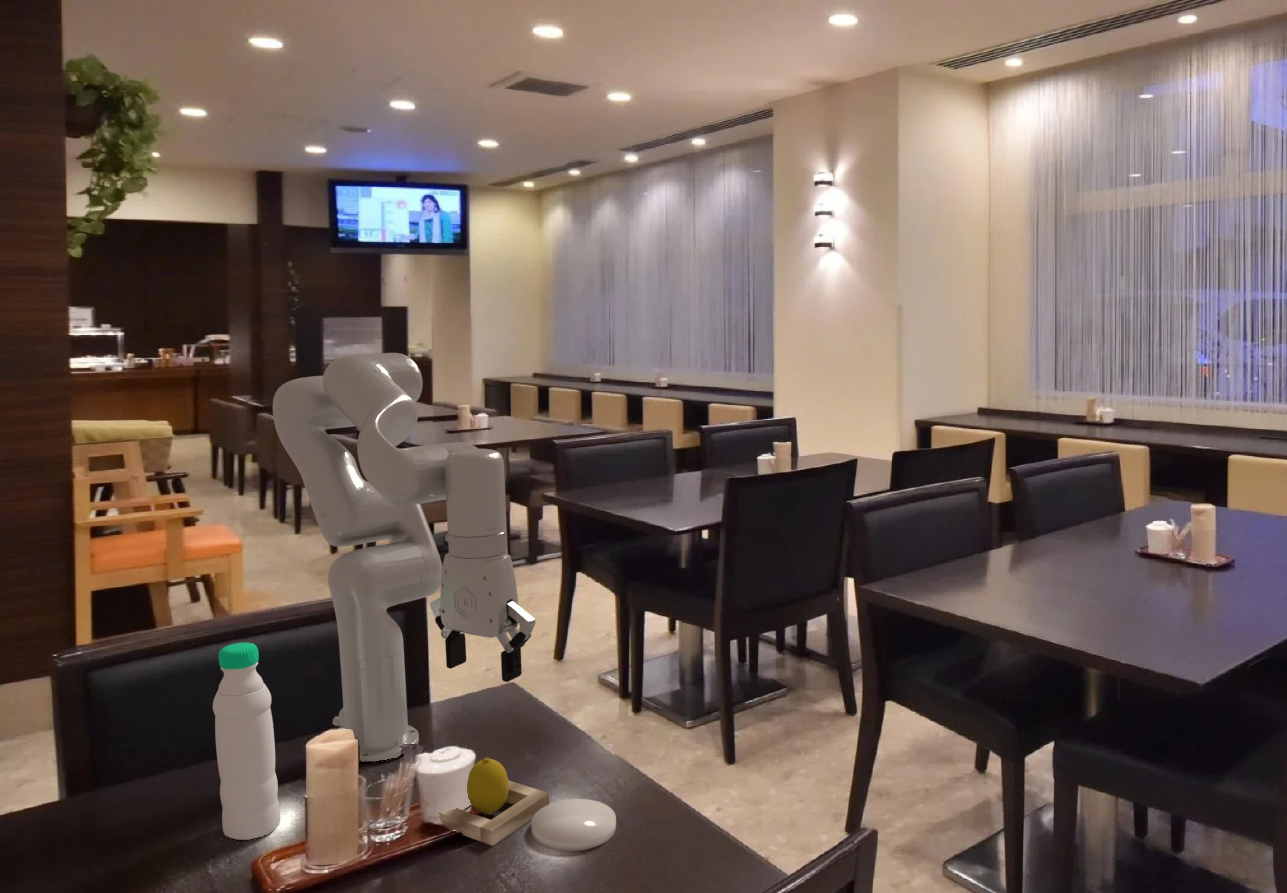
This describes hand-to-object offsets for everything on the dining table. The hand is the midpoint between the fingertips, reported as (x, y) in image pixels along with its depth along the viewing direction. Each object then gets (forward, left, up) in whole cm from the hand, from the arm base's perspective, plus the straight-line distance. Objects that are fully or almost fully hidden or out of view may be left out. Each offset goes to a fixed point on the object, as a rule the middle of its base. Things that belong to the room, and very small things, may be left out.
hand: (483, 671), depth 129 cm
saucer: (+12, +3, -20) cm, 23 cm away
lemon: (0, 0, -20) cm, 20 cm away
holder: (0, 0, -20) cm, 20 cm away
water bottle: (-25, -19, -20) cm, 37 cm away
